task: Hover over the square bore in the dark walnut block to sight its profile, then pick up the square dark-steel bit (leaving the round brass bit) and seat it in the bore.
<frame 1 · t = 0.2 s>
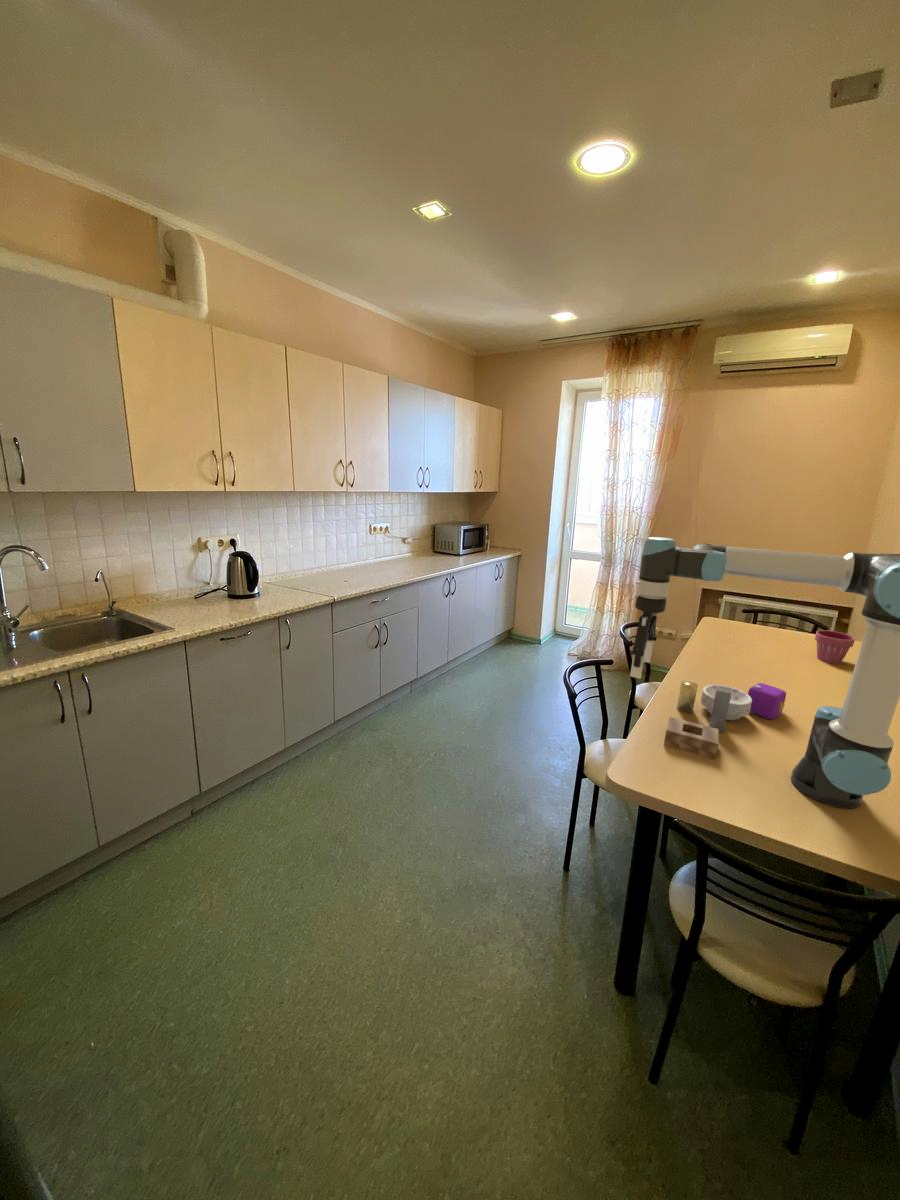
hand: (640, 669, 131), 28 cm above the table, fingers open, 13 cm apart
square bit: (716, 728, 156), on the table
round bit: (684, 709, 168), on the table
bore block: (689, 743, 146), on the table
plant pot: (828, 660, 223), on the table
paper bowls: (722, 714, 166), on the table
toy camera: (763, 711, 169), on the table
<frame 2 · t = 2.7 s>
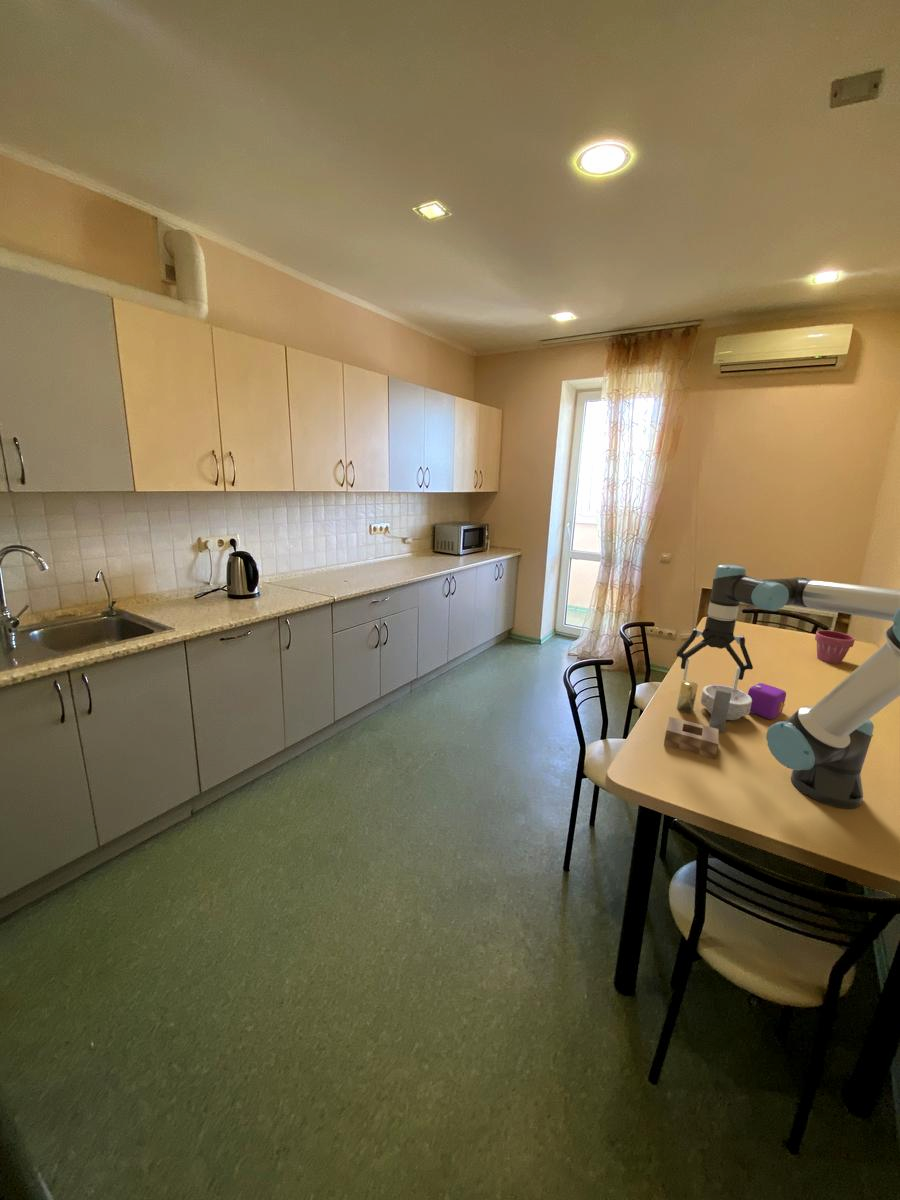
hand: (708, 683, 144), 19 cm above the table, fingers open, 13 cm apart
nothing on the table moved.
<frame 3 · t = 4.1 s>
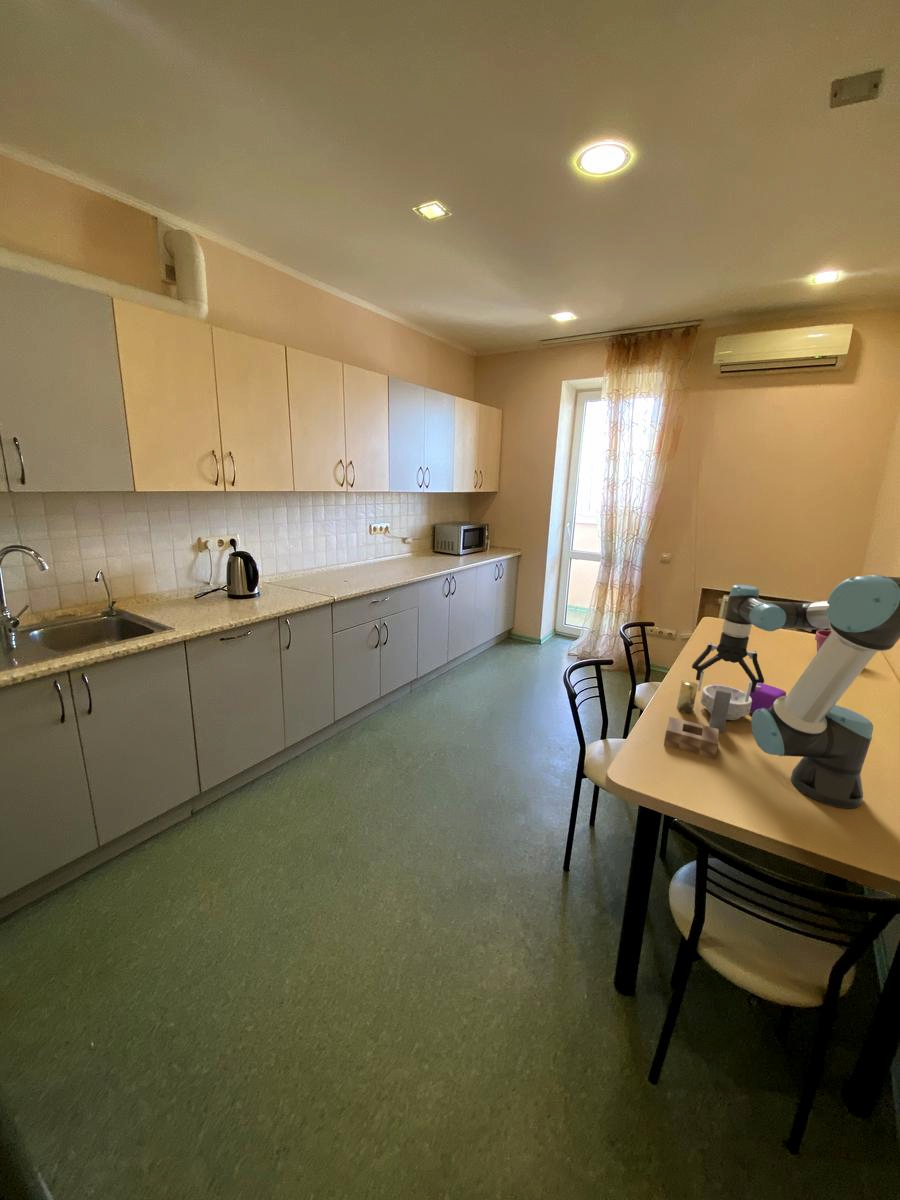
hand: (722, 694, 153), 12 cm above the table, fingers open, 13 cm apart
nothing on the table moved.
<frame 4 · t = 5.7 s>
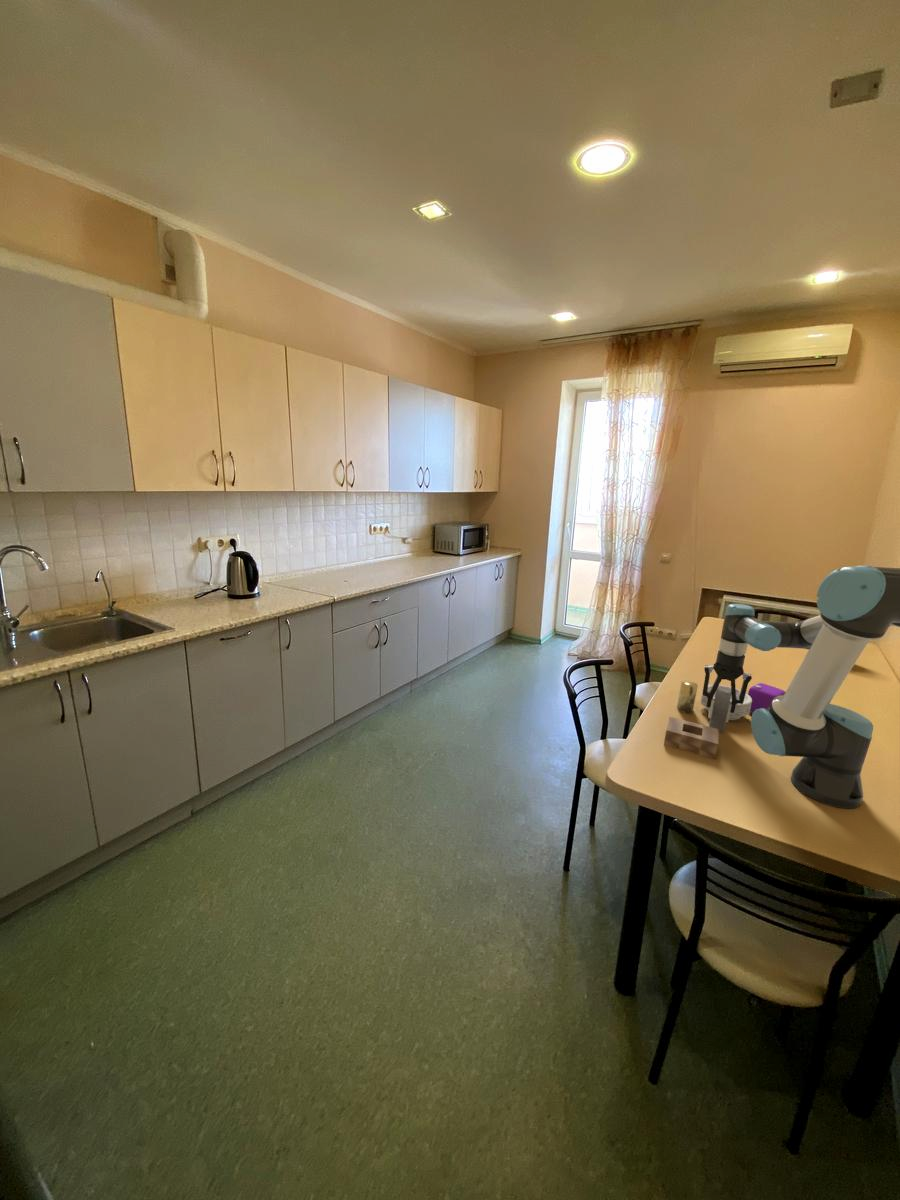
hand: (718, 718, 155), 4 cm above the table, fingers closed on square bit, 4 cm apart
square bit: (716, 728, 156), on the table, touching gripper
everything else where it was.
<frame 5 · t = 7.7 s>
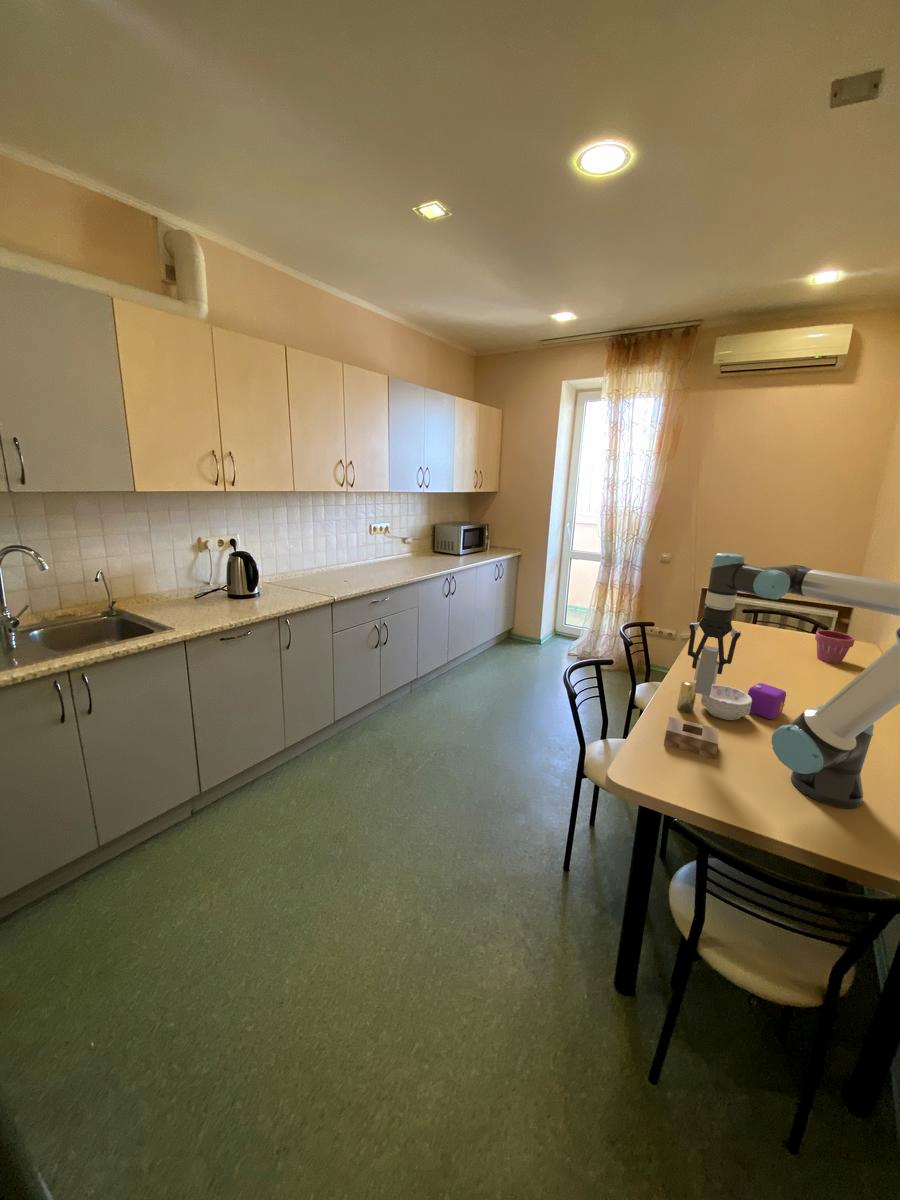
hand: (704, 680, 142), 21 cm above the table, fingers closed on square bit, 4 cm apart
square bit: (702, 691, 143), point 17 cm above the table, touching gripper
everything else where it was.
when the fingers open (6 cm above the table, at t = 10.1 s): square bit drops 2 cm, resting in bore block.
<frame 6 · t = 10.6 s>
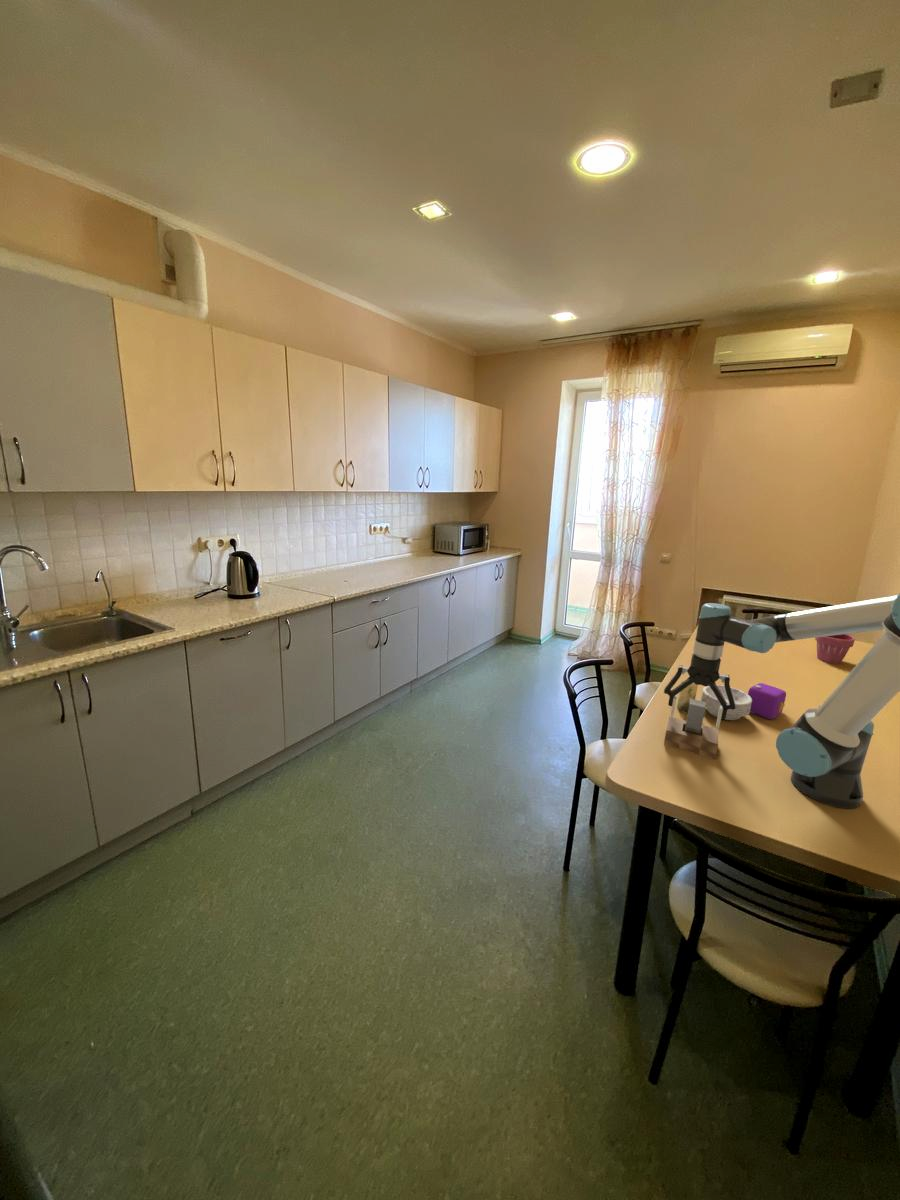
hand: (694, 721, 144), 8 cm above the table, fingers open, 12 cm apart
square bit: (689, 744, 146), resting in bore block
everything else where it was.
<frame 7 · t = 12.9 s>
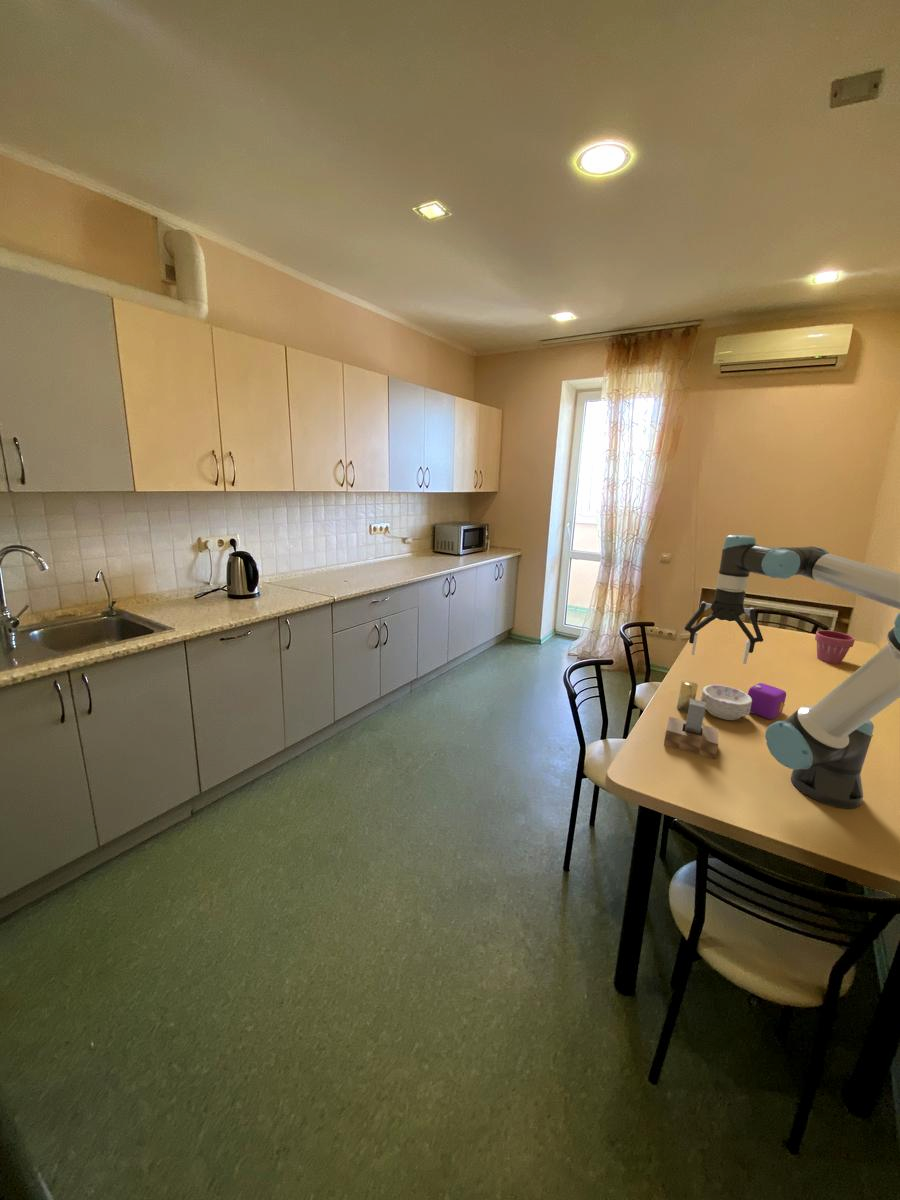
hand: (717, 658, 141), 28 cm above the table, fingers open, 13 cm apart
nothing on the table moved.
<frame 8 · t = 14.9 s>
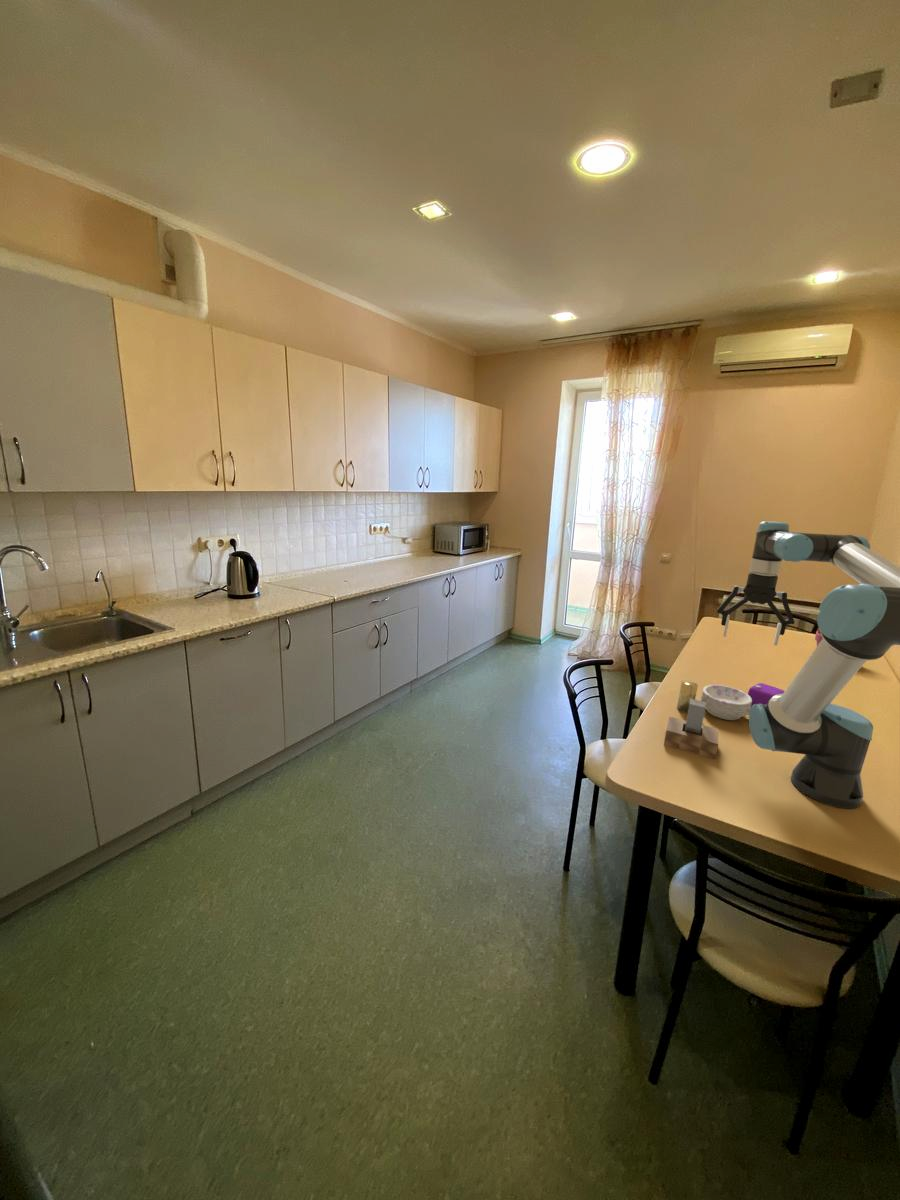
hand: (749, 639, 147), 32 cm above the table, fingers open, 13 cm apart
nothing on the table moved.
at the end: square bit 0.1 cm off-centre on the bore block, point 0.0 cm above the bore block's base; square bit tilted 0°; the gripper is holding nothing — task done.
